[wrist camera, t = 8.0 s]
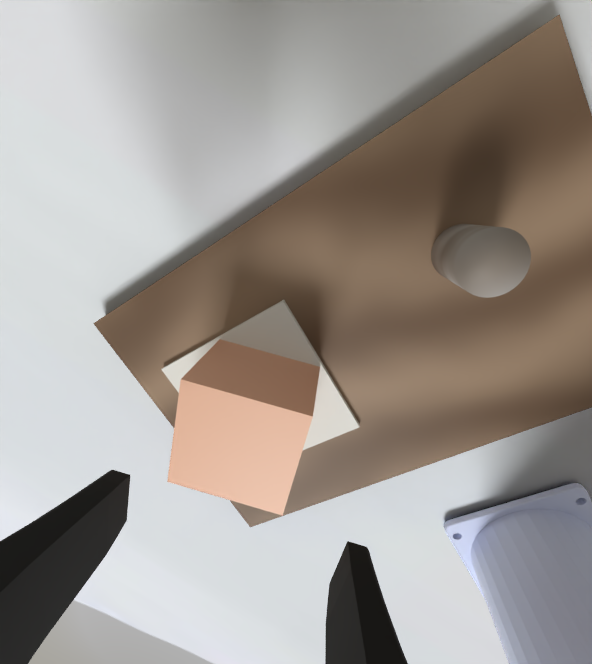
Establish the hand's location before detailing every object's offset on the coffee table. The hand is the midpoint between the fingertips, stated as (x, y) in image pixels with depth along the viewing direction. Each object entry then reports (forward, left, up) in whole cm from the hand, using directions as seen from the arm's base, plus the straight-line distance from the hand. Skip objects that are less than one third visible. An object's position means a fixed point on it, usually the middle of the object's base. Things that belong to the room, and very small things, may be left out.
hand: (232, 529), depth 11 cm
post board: (+1, -5, -9) cm, 11 cm away
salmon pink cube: (+1, +1, -8) cm, 8 cm away
